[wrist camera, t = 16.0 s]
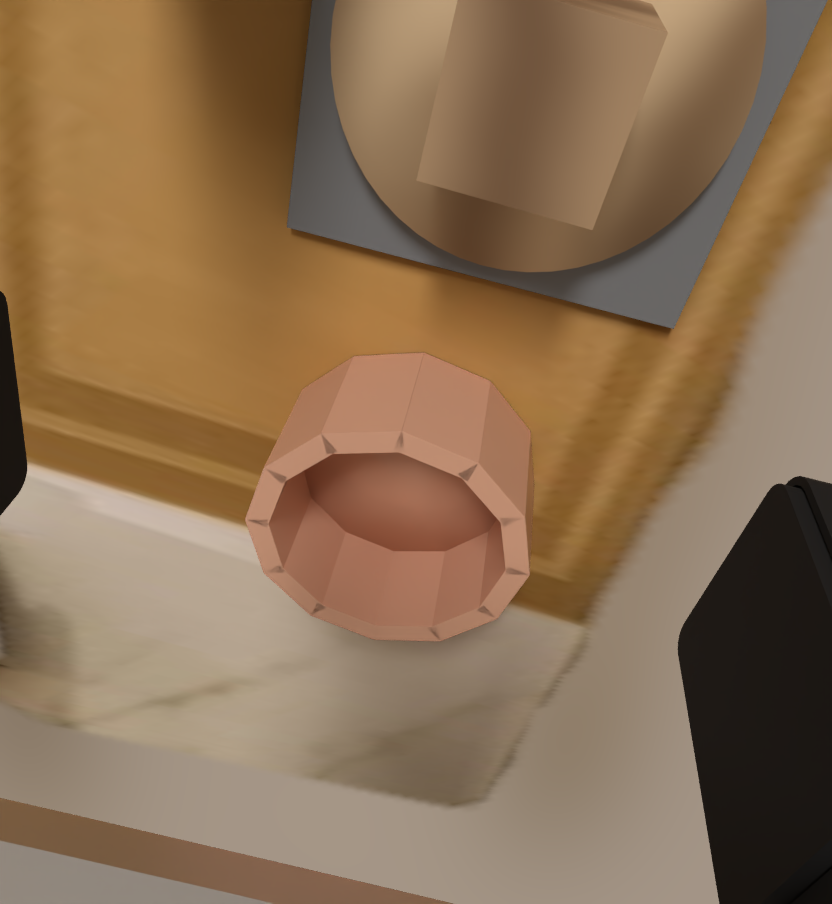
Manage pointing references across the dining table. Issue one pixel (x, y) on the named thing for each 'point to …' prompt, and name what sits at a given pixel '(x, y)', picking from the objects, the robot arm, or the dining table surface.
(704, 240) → the mat
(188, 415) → the dining table surface
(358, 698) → the dining table surface
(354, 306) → the dining table surface
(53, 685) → the dining table surface
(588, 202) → the lid
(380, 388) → the bowl
